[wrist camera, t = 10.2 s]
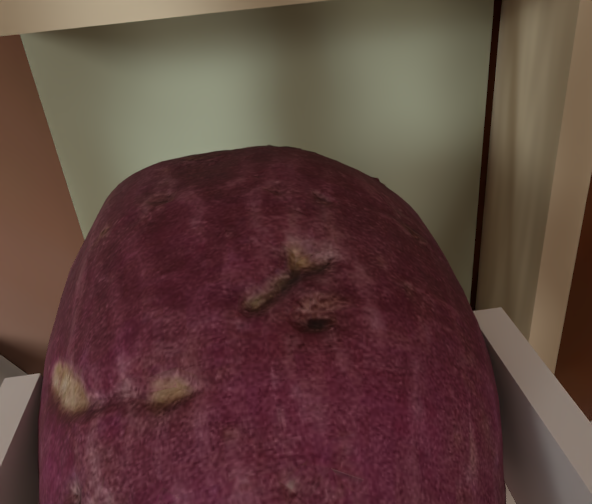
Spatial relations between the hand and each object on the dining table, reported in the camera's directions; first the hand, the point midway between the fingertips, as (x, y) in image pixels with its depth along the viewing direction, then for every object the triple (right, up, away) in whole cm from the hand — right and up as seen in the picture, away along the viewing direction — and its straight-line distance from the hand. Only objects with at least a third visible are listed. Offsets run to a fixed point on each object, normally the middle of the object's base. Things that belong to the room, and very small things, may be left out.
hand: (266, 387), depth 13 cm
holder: (+1, +5, +8) cm, 10 cm away
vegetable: (0, +1, +2) cm, 3 cm away
